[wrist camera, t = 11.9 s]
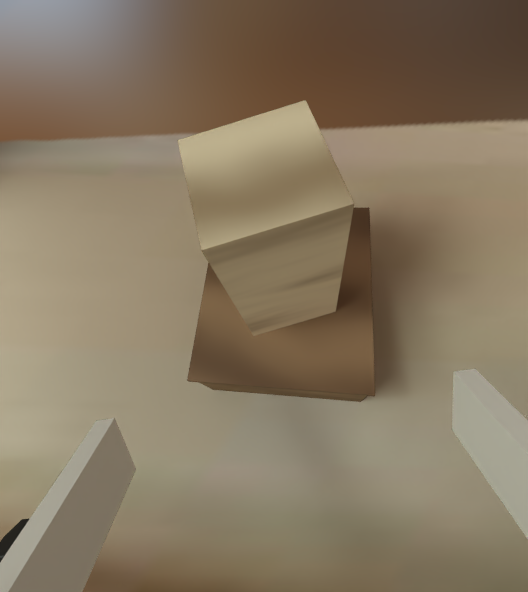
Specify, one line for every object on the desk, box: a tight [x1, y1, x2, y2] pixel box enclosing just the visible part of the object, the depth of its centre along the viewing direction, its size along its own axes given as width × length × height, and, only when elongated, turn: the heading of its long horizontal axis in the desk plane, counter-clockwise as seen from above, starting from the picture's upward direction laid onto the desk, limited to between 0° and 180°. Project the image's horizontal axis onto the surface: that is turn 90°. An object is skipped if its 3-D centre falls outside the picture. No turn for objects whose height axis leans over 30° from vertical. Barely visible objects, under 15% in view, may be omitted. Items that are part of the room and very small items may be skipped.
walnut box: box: [187, 208, 375, 402], centre depth 28 cm, size 14×12×6 cm
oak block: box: [178, 100, 354, 336], centre depth 19 cm, size 6×6×12 cm
